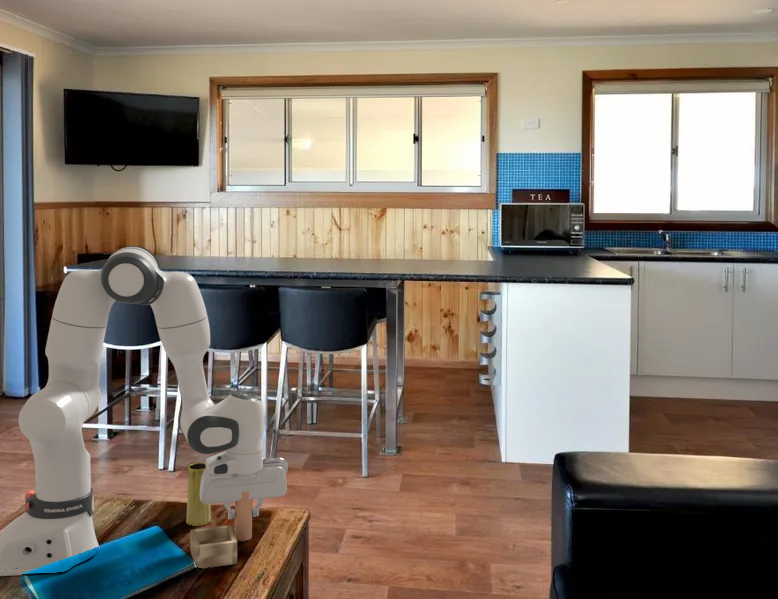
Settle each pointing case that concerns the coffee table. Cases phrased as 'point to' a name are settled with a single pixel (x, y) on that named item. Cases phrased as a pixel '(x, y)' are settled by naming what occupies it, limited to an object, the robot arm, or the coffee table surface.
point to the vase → (196, 497)
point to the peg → (243, 518)
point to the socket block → (213, 546)
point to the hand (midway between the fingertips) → (243, 516)
